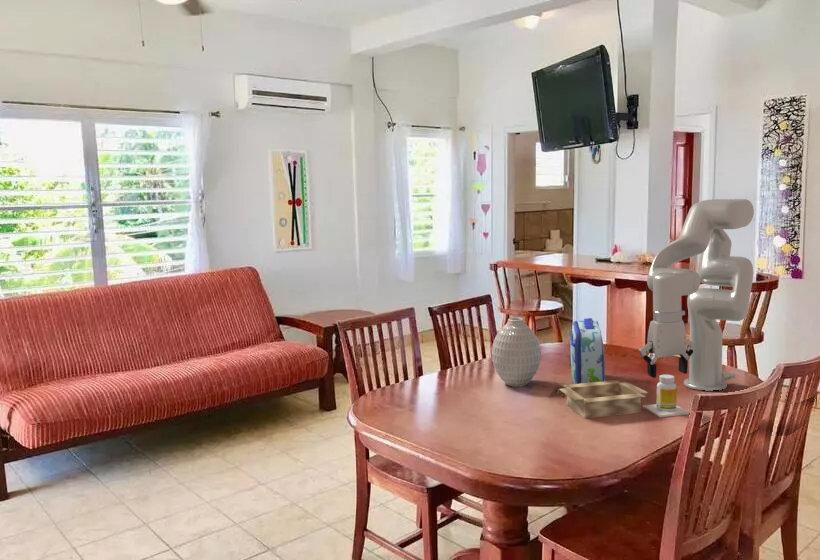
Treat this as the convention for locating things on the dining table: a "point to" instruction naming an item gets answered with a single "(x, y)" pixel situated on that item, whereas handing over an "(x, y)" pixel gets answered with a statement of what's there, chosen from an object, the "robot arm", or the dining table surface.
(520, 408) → the dining table surface
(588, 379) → the lunch box
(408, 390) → the dining table surface
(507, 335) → the vase
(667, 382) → the supplement bottle
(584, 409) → the carton
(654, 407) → the coaster
